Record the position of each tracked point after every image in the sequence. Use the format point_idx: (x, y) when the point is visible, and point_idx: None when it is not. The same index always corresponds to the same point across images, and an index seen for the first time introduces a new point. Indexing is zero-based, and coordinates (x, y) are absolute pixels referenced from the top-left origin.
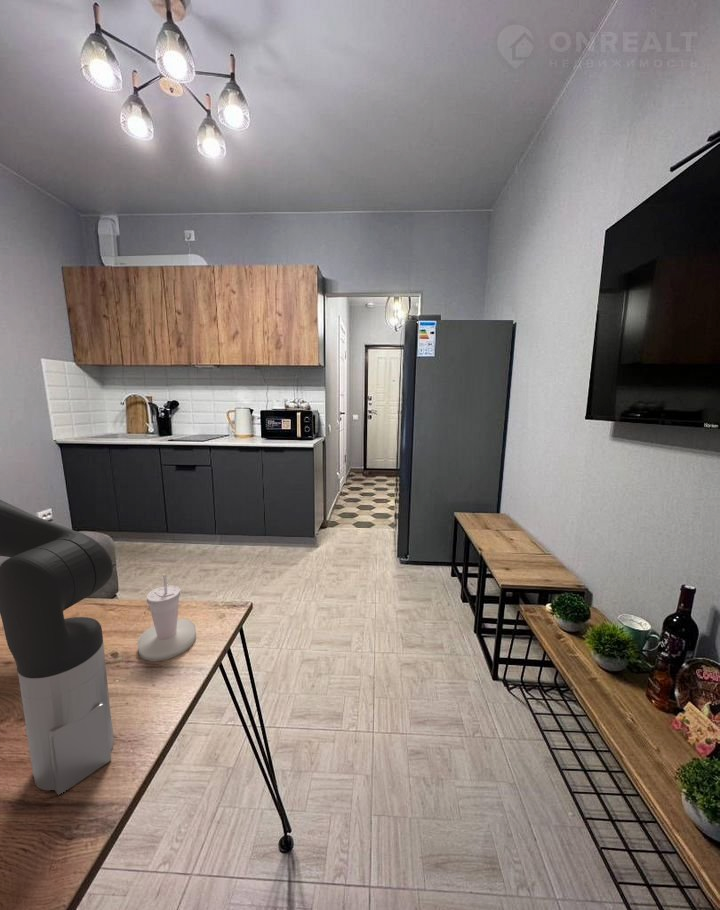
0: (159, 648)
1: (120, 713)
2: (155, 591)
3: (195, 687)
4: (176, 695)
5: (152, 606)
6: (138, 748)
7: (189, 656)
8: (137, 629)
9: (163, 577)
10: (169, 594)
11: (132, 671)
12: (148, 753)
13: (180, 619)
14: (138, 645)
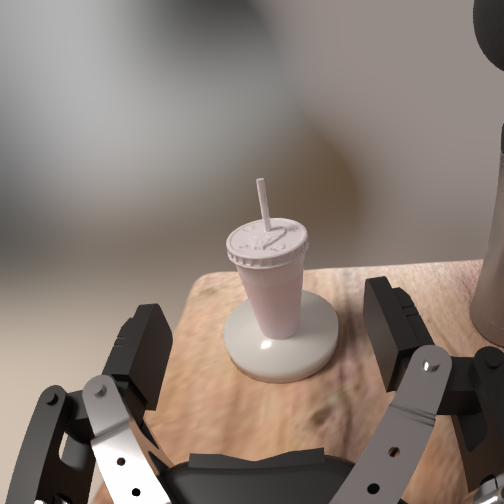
0: (326, 317)
1: (445, 317)
2: (259, 246)
3: (380, 267)
4: (398, 278)
5: (302, 256)
6: (467, 276)
7: (321, 295)
8: (222, 417)
9: (264, 187)
10: (277, 223)
11: (368, 354)
12: (466, 267)
13: (228, 323)
14: (319, 355)
